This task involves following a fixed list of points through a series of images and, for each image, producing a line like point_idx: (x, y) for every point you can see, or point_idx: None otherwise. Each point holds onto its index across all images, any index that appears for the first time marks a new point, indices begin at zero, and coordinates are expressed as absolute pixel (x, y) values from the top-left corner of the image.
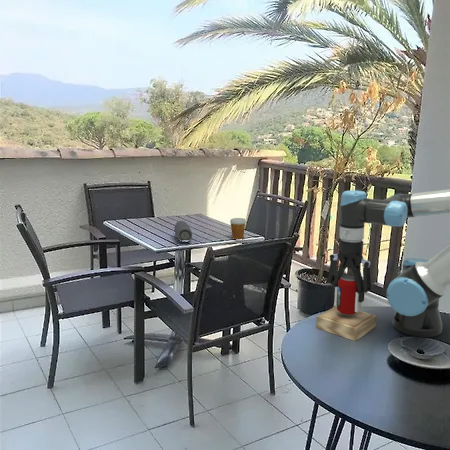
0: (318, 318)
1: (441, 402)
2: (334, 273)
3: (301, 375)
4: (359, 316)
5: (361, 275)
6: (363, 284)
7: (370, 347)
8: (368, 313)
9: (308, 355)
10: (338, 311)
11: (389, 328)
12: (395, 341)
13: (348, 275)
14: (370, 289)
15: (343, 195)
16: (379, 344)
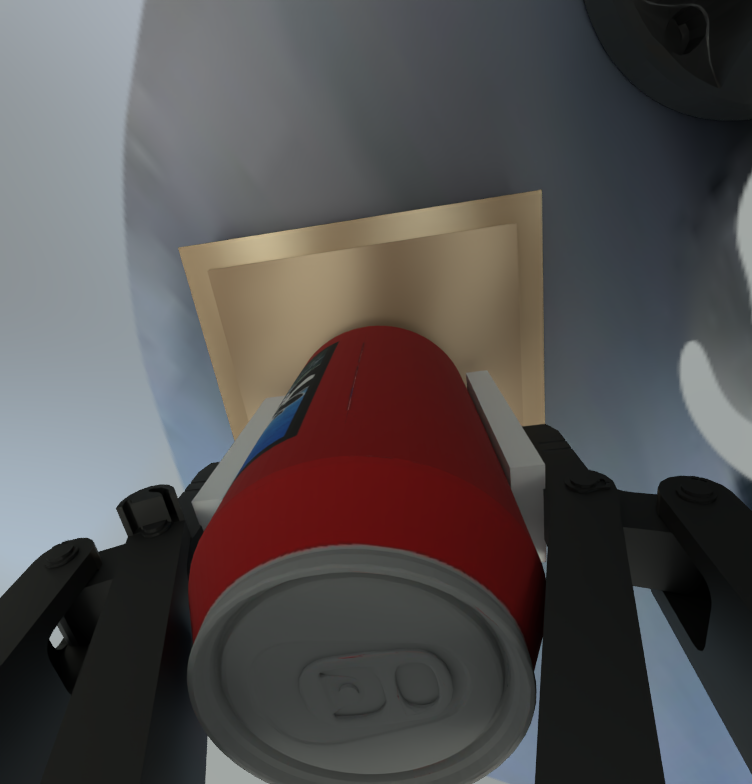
0: None
1: None
2: (17, 705)
3: (524, 775)
4: (456, 334)
5: (652, 718)
6: (703, 682)
7: (620, 463)
8: (464, 203)
9: None
10: (290, 379)
11: (600, 125)
12: (712, 291)
13: (247, 603)
14: (726, 495)
15: None
16: (645, 399)
